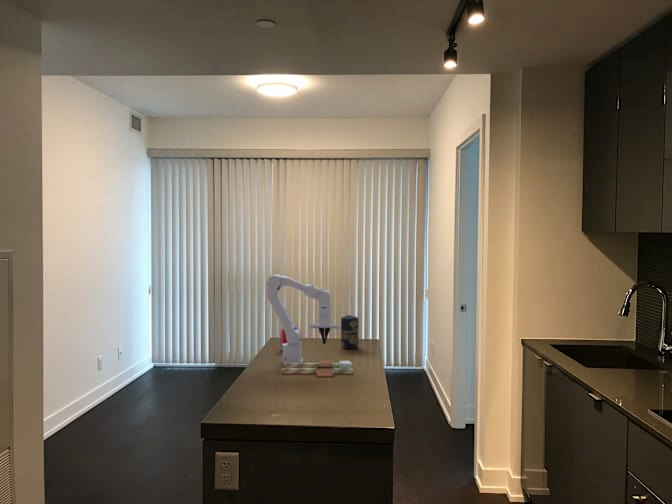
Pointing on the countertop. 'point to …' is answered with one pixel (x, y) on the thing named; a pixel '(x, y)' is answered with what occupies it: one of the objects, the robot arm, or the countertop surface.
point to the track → (312, 368)
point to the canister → (349, 331)
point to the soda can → (282, 338)
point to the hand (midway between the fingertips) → (324, 343)
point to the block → (344, 364)
